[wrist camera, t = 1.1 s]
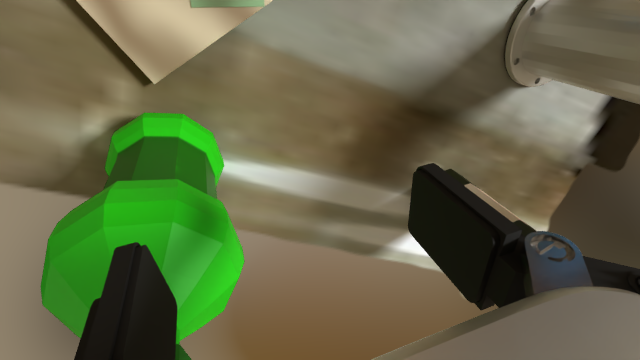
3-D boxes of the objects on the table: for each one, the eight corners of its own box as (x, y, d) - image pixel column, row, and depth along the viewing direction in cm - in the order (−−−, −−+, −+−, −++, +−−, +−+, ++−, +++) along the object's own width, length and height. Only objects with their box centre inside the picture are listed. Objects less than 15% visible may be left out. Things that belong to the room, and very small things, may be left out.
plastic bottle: (103, 178, 32) (-50, 511, 12) (125, 79, 28) (-44, 324, 8) (205, 198, 37) (217, 460, 17) (235, 116, 33) (298, 327, 13)
